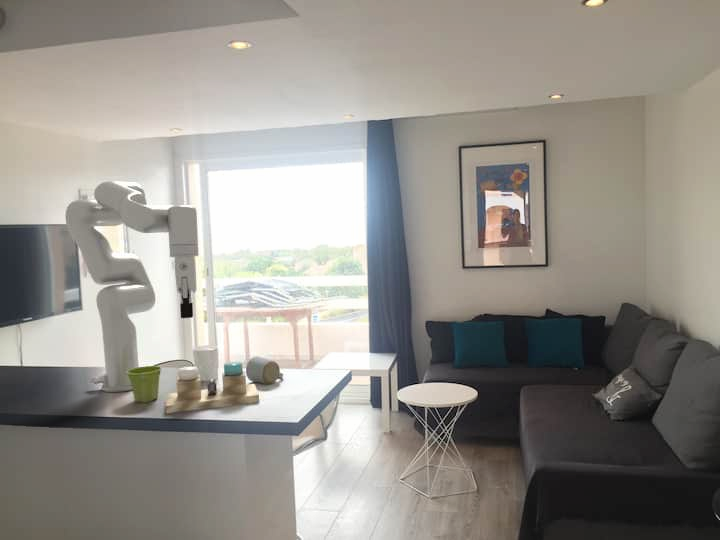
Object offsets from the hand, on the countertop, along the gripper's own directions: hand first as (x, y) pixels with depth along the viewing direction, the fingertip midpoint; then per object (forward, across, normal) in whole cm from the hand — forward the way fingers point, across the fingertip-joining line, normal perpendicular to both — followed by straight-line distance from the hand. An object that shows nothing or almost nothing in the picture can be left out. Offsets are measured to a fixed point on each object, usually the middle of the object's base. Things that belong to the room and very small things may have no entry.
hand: (187, 317), depth 160 cm
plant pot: (+24, +6, +12) cm, 28 cm away
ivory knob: (+21, -4, 0) cm, 21 cm away
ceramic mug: (+23, +12, -22) cm, 34 cm away
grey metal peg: (+21, -4, -6) cm, 22 cm away
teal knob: (+21, -4, -12) cm, 24 cm away
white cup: (+24, +23, -4) cm, 33 cm away
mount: (+23, -4, -6) cm, 24 cm away
